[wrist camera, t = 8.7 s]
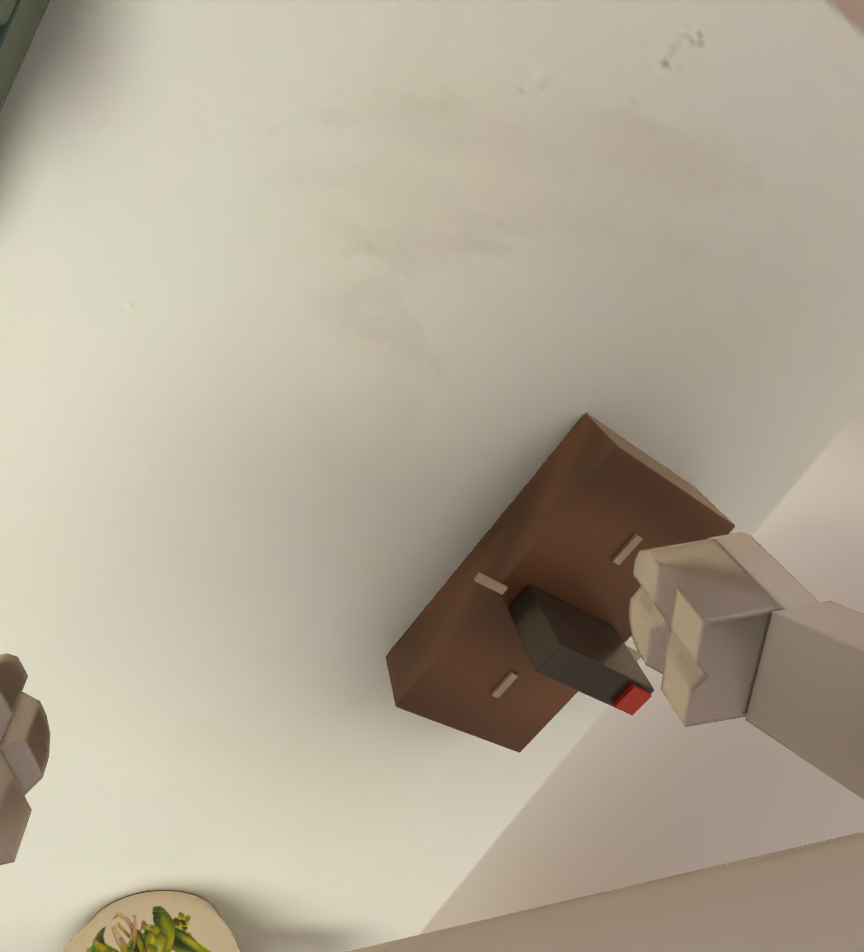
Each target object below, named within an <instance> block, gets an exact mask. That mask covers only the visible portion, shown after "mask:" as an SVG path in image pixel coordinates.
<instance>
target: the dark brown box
mask: <svg viewBox="0 0 864 952" xmlns="http://www.w3.org/2000/svg"><path fill="white" fill-rule="evenodd" d="M508 611H509V613H510V616H511V618H512V620H513V622H514V624H515V627H516V629H517V631H518V633H519V635H520V638H521V640H522V642H523V644H524V646H525V649H526V651H527V653H528V655H529V657H530V660H531V662H532V664H533V666H534V669H535V671H536V672H537V673H539V674H541V675H544V676H546V677H548V678H550V679H553V680H555V681H557V682H559V683H562V684H564V685H566V686H568V687H571V688H573V689H575V690H577V691H580V692H582V693H584V694H586V695H589V696H591V697H593V698H595V699H598V700H600V701H602V702H604V703H607V704H609V705H611V706H613V707H615V708H617V709H619V710H622V711H624V712H626V713H629V714H631V715H633V714H634V713H635V712H636V711H637V710H638V709H639V708H640V707H641V706H642V705H643V704H644V703H645V702H646V701H647V700H648V699H649V698H650V697H651V693H652V692H653V691H654V689H653V687H652V686H651V684H650V682H649V681H648V679H647V678H646V676H645V675H644V673H643V672H642V670H641V668H640V667H639V665H638V664H637V662H636V660H635V659H634V657H633V656H632V654H631V653H630V651H629V649H628V648H627V646H626V645H625V643H624V641H623V640H622V638H621V637H620V635H619V634H618V632H617V630H616V629H614V628H612V627H610V626H609V625H607V624H605V623H603V622H601V621H599V620H597V619H595V618H593V617H591V616H589V615H587V614H585V613H583V612H581V611H579V610H578V609H576V608H574V607H572V606H570V605H568V604H566V603H564V602H562V601H560V600H558V599H556V598H554V597H552V596H550V595H548V594H546V593H545V592H543V591H541V590H539V589H537V588H535V587H533V586H531V585H528V586H527V588H526V589H525V590H524V591H523V592H522V593H521V594H520V596H519V597H518V598H517V599H516V600H515V601H514V603H513V604H512V605H511V606H510V607H509V608H508Z"/></svg>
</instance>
